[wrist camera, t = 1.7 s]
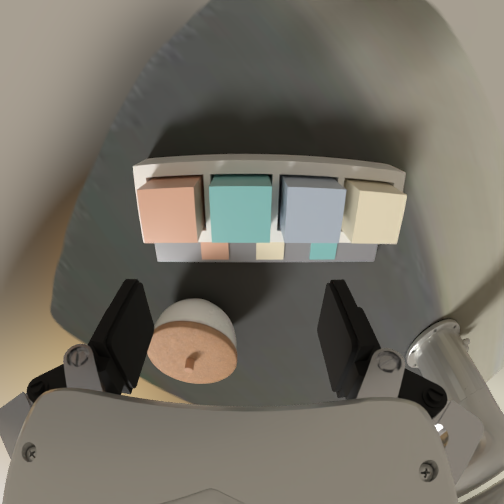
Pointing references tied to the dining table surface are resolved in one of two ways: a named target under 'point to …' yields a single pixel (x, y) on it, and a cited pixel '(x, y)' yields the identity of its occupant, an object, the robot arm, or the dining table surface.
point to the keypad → (274, 168)
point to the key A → (172, 209)
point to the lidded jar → (194, 342)
